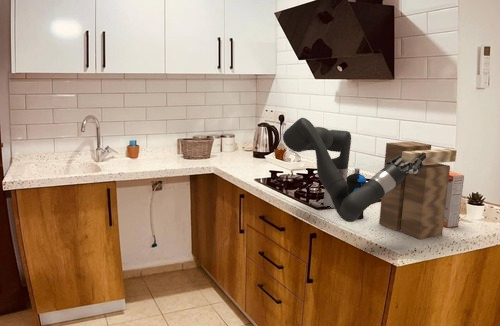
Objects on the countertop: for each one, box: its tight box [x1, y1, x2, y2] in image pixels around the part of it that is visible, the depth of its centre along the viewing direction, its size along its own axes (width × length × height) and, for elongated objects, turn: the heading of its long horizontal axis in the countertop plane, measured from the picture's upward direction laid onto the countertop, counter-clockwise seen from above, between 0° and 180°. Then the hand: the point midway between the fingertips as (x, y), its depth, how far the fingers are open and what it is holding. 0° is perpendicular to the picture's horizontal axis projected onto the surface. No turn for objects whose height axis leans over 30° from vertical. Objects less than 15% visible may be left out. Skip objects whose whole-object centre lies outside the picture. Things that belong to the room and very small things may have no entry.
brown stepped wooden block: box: [378, 141, 451, 240], centre depth 177 cm, size 14×19×32 cm
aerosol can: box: [346, 167, 368, 220], centre depth 192 cm, size 8×8×20 cm
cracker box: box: [443, 170, 465, 228], centre depth 188 cm, size 14×6×21 cm, turn 21°
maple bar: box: [401, 148, 458, 165], centre depth 167 cm, size 23×4×4 cm, turn 119°
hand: (419, 153), depth 165 cm, fingers closed on maple bar, 4 cm apart
